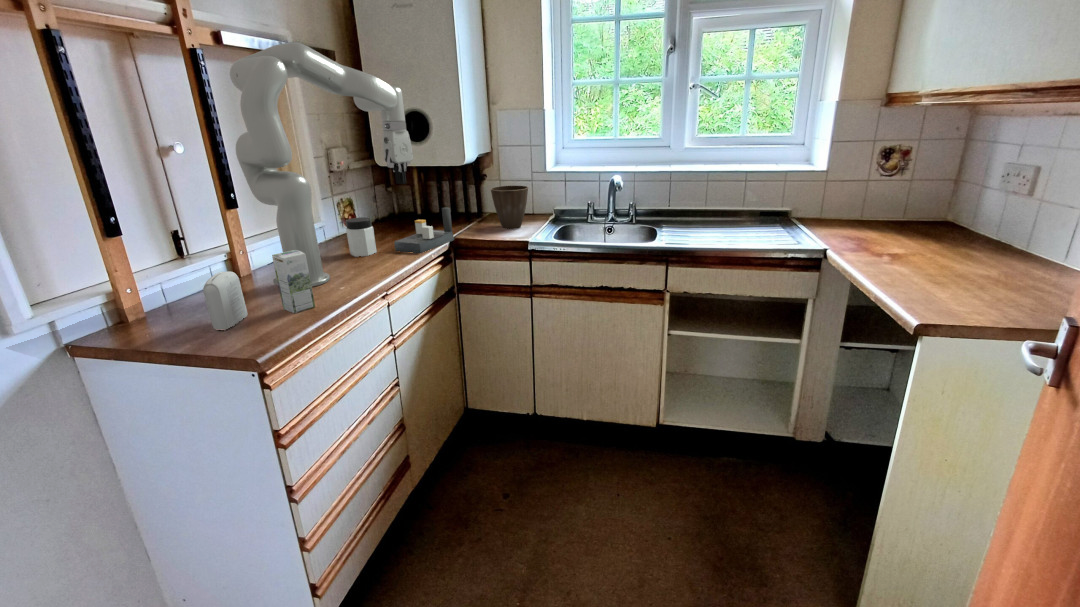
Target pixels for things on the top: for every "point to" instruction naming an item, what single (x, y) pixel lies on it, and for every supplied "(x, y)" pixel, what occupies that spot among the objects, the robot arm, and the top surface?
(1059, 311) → the top surface
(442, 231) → the breaker panel
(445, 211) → the post
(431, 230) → the paddle
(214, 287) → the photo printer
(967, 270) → the top surface
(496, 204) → the plant pot
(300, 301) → the syrup box
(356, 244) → the jar
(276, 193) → the robot arm
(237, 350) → the top surface
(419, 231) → the paddle on
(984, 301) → the top surface
